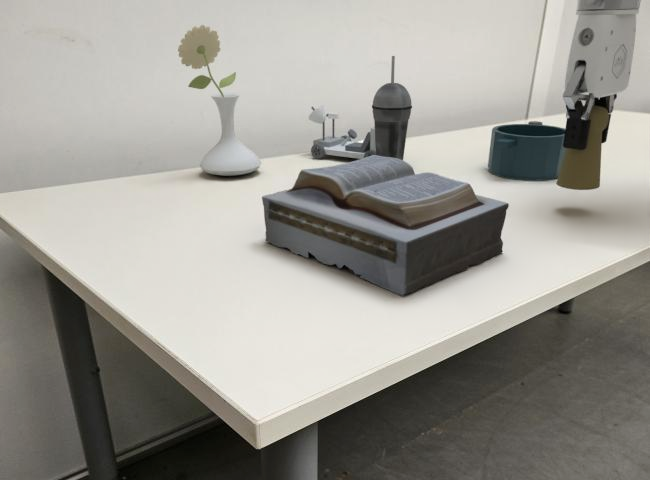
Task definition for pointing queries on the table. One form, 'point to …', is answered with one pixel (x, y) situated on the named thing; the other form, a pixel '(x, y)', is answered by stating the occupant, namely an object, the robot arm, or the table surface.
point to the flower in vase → (229, 151)
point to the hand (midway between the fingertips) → (584, 143)
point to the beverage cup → (391, 118)
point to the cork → (585, 156)
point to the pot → (526, 151)
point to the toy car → (340, 140)
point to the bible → (386, 222)
